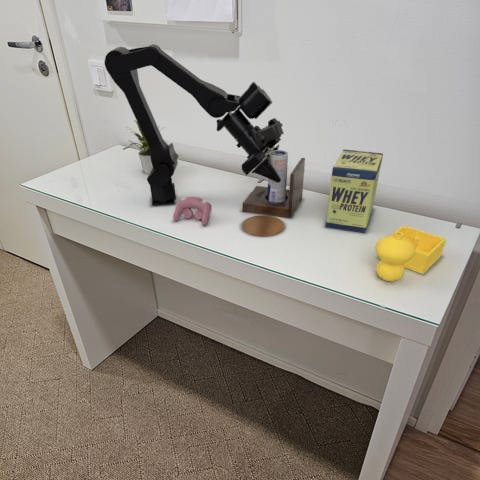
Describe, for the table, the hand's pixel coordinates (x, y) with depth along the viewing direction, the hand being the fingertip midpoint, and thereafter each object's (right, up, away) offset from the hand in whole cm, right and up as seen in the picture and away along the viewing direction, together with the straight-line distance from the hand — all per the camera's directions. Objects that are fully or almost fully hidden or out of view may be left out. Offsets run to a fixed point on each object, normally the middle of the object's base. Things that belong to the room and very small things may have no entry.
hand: (282, 177), depth 119 cm
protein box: (+18, -11, -1) cm, 21 cm away
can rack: (-2, -6, +6) cm, 9 cm away
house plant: (-43, +12, +29) cm, 53 cm away
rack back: (+4, -7, +4) cm, 9 cm away
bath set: (+25, -27, -20) cm, 42 cm away
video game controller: (-24, -12, -1) cm, 27 cm away
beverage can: (-1, -6, +6) cm, 9 cm away
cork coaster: (-5, -14, -4) cm, 16 cm away
